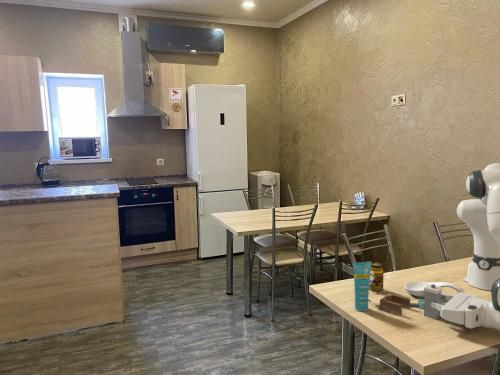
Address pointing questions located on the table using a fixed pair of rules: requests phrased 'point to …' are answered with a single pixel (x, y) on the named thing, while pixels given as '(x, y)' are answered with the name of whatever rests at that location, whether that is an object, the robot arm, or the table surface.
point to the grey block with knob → (432, 300)
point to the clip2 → (421, 304)
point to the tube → (361, 284)
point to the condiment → (377, 278)
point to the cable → (414, 304)
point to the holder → (394, 303)
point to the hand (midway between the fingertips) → (436, 300)
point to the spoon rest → (418, 287)
